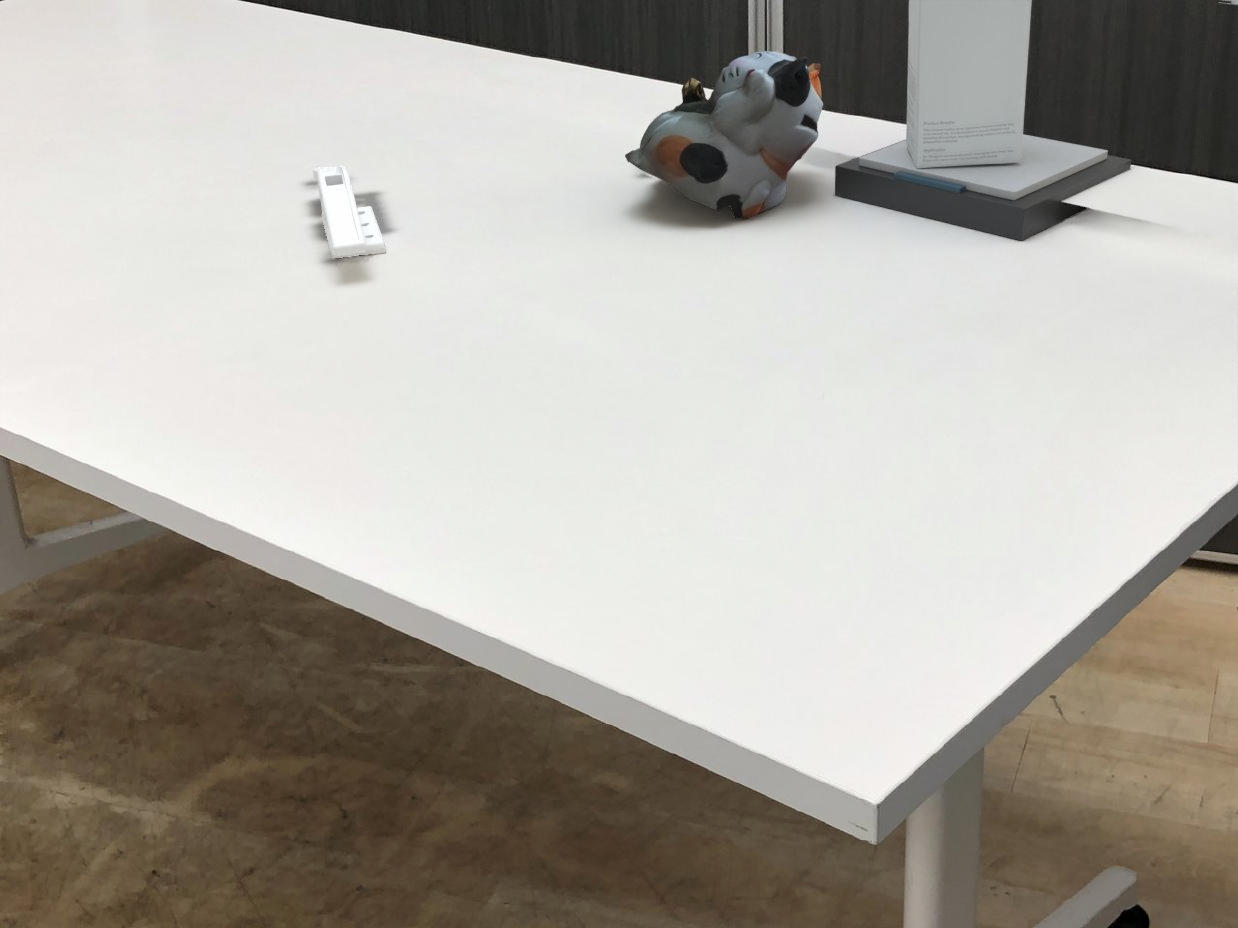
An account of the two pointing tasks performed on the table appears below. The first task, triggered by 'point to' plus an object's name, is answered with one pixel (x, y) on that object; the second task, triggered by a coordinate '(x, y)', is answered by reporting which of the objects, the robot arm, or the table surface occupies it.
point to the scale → (982, 186)
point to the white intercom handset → (346, 216)
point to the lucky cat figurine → (737, 134)
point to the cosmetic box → (966, 81)
